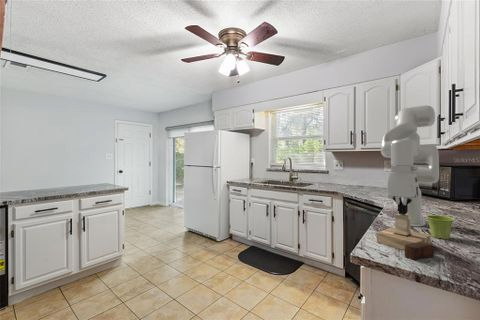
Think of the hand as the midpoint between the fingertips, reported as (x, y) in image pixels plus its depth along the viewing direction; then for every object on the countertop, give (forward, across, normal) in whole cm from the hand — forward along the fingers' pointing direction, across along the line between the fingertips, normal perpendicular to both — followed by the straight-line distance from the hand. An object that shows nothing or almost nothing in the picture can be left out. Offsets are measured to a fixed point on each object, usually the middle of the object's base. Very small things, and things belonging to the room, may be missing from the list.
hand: (402, 213), depth 93 cm
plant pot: (+13, -6, -22) cm, 26 cm away
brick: (+13, -8, +9) cm, 18 cm away
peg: (+12, 0, 0) cm, 12 cm away
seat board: (+12, 0, 0) cm, 12 cm away
